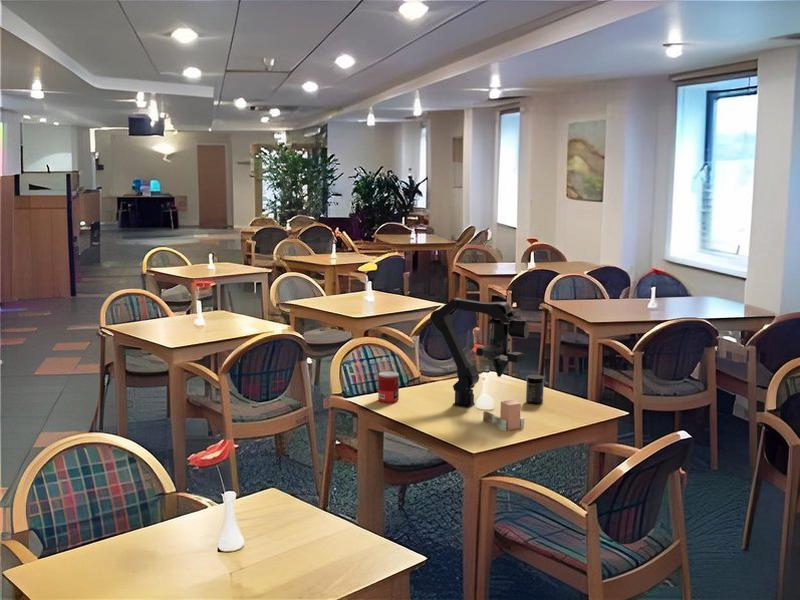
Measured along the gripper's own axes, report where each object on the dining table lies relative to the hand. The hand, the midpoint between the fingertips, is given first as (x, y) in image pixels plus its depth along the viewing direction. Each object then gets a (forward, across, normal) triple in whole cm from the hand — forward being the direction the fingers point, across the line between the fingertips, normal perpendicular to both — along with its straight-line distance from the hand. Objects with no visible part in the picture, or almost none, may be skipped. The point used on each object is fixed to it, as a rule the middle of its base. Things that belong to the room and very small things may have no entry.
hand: (499, 376), depth 317 cm
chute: (+13, +12, -14) cm, 22 cm away
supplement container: (+13, +4, +18) cm, 23 cm away
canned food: (+13, -39, -19) cm, 45 cm away
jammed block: (+13, +16, -15) cm, 25 cm away
